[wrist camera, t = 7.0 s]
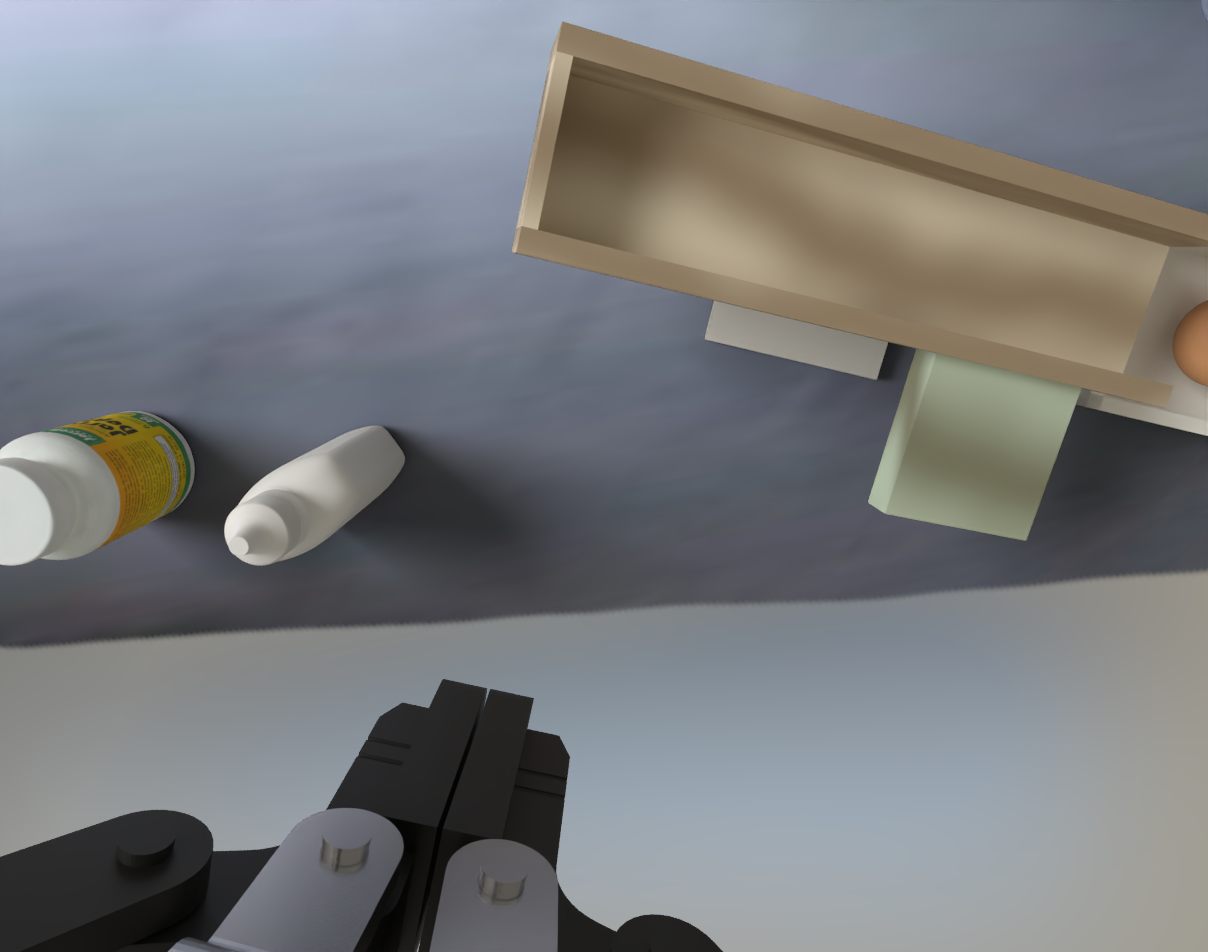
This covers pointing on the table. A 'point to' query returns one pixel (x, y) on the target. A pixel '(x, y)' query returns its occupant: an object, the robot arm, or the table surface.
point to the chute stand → (795, 340)
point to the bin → (1165, 348)
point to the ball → (1193, 344)
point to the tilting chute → (861, 254)
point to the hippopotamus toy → (1205, 8)
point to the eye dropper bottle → (312, 496)
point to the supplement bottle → (89, 484)
